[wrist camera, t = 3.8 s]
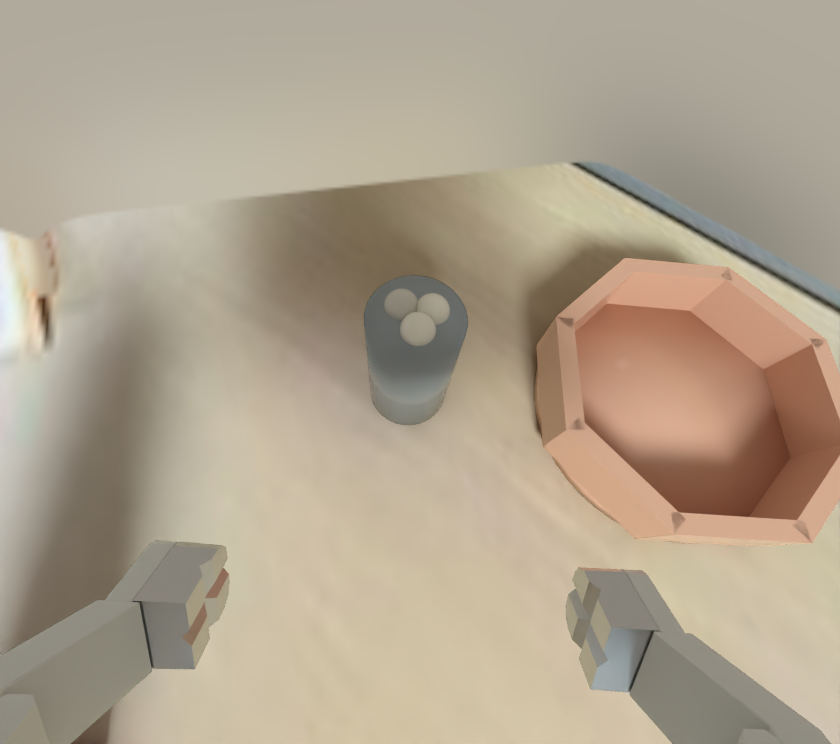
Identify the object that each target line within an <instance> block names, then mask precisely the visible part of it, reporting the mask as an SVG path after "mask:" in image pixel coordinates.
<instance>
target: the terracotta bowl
mask: <svg viewBox="0 0 840 744" xmlns="http://www.w3.org/2000/svg"><path fill="white" fill-rule="evenodd" d="M536 347H537V362H538V367H537V371H536V378H535V388H534V400H535V408H536V415H537V419H538V423H539V427H540V430H541V433H542V438H543V447H544V448H545V449H546V450H547V451H548V452H549V453H550V454H551V455H552V457H553V459H554V461H555V463H556V464H557V466H558V467H559V469H560V470H561V471H562V473H563V474H564V476H565V477H566V479H567V480H568V481H569V482H570V483H571V484H572V485H573V487H574V488H575V489H576V490H577V491H578V492H579V493H580V494H581V495H582V496H583V497H584V498H585V499H586V500H587V501H588V502H590V503H591V504H592V505H593V506H594V507H595V508H597V509H598V510H599V511H601V512H602V513H604V514H605V515H606V516H608V517H609V518H611V519H612V520H614V521H616V522H618V523H619V524H621V525H622V526H623V527H624V528H625V529H626V530H627V531H628V532H629V533H630V534H631V535H632V536H633V537H634V538H635V539H648V540H663V541H669V542H677V543H711V544H726V545H742V546H768V545H788V544H808V543H813V541H814V539H815V538H816V536H817V535H818V533H819V531H820V530H821V528H822V527H823V525H824V523H825V522H826V520H827V519H828V517H829V515H830V514H831V512H832V511H833V509H834V507H835V506H836V504H837V503H838V501H839V500H840V374H839V371H838V369H837V366H836V364H835V361H834V358H833V356H832V353H831V351H830V348H829V345H828V343H827V340H826V339H825V338H824V337H822V336H821V335H820V334H818V333H817V332H815V331H814V330H813V329H811V328H810V327H809V326H807V325H806V324H805V323H803V322H802V321H801V320H799V319H798V318H797V317H795V316H794V315H793V314H791V313H790V312H788V311H787V310H786V309H784V308H783V307H782V306H780V305H779V304H778V303H776V302H775V301H774V300H772V299H771V298H770V297H768V296H767V295H766V294H764V293H763V292H761V291H760V290H759V289H757V288H756V287H755V286H753V285H752V284H751V283H749V282H748V281H747V280H745V279H744V278H743V277H741V276H740V275H739V274H737V273H736V272H734V271H733V270H732V269H730V268H729V267H720V266H709V265H699V264H688V263H677V262H666V261H655V260H644V259H633V258H624V259H623V260H622V261H620V262H619V263H618V264H617V265H616V266H615V267H613V268H612V269H611V270H610V271H609V272H608V273H606V274H605V275H604V276H603V277H602V278H601V279H599V280H598V281H597V282H596V283H595V284H593V285H592V286H591V287H590V288H589V289H588V290H586V291H585V292H584V293H583V294H582V295H581V296H579V297H578V298H577V299H576V300H575V301H574V302H572V303H571V304H570V305H569V306H568V307H567V308H565V309H564V310H563V311H562V312H561V313H559V314H558V315H557V316H556V317H555V319H554V320H553V322H552V323H551V325H550V326H549V328H548V329H547V330H546V332H545V333H544V335H543V336H542V338H541V339H540V341H539V342H538V344H537V345H536Z"/></svg>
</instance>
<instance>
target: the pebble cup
mask: <svg viewBox="0 0 840 744" xmlns="http://www.w3.org/2000/svg"><path fill="white" fill-rule="evenodd" d="M364 325H365V336H366V347H367V357H368V368H369V379H370V390H371V397H372V401H373V403H374V405H375V407H376V409H377V410H378V411H379V413H380V414H381V415H382V416H384V417H385V418H386V419H388V420H390V421H392V422H394V423H397V424H401V425H415V424H419V423H422V422H425V421H426V420H428V419H430V418H431V417H432V416H434V415H435V414H436V412H437V411H438V410H439V408H440V407H441V405H442V402H443V400H444V397H445V394H446V391H447V388H448V385H449V382H450V379H451V376H452V373H453V370H454V367H455V364H456V362H457V359H458V356H459V353H460V350H461V347H462V344H463V341H464V338H465V335H466V332H467V327H468V317H467V312H466V309H465V306H464V304H463V302H462V300H461V299H460V298H459V296H458V295H457V294H456V293H455V292H454V291H453V290H452V289H451V288H450V287H449V286H447V285H445V284H444V283H442V282H440V281H438V280H435V279H433V278H429V277H425V276H415V275H412V276H403V277H399V278H395V279H393V280H390V281H388V282H386V283H385V284H383V285H382V286H380V287H379V288H378V289H377V290H376V291H375V292H374V293H373V294H372V296H371V297H370V299H369V301H368V302H367V305H366V308H365V313H364Z"/></svg>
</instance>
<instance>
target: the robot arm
mask: <svg viewBox="0 0 840 744" xmlns="http://www.w3.org/2000/svg"><path fill="white" fill-rule="evenodd" d="M226 561H227V551H226V547H224V546H223V545H213V544H201V543H190V542H173V541H162V540H156V541H154V542H152V543H151V544H149V545H148V547H147V548H146V549H145V550H144V552H143V553H142V554H141V555H140V557H139V558H138V559H137V560H136V562H135V563H134V564H133V565H132V567H131V568H130V569H129V570H128V572H127V573H126V574H125V575H124V577H123V578H122V579H121V580H120V582H119V583H118V584H117V585H116V587H115V588H114V589H113V590H112V592H111V593H110V594H109V595H108V596H107V598H106V599H105V600H96V601H95V602H93V603H91V604H89V605H88V606H86V607H84V608H82V609H81V610H79V611H77V612H75V613H74V614H72V615H70V616H68V617H67V618H65V619H63V620H62V621H60V622H58V623H56V624H55V625H53V626H51V627H49V628H48V629H46V630H44V631H42V632H41V633H39V634H37V635H35V636H34V637H32V638H30V639H28V640H27V641H25V642H23V643H22V644H20V645H18V646H16V647H15V648H13V649H11V650H9V651H8V652H6V653H4V654H2V655H1V656H0V744H71V743H72V742H73V741H74V740H75V739H76V738H78V737H79V736H80V735H81V734H82V733H83V732H84V731H85V730H87V729H88V728H89V727H90V726H91V725H92V724H93V723H94V722H96V721H97V720H98V719H99V718H100V717H101V716H102V715H103V714H104V713H106V712H107V711H108V710H109V709H110V708H111V707H112V706H113V705H115V704H116V703H117V702H118V701H119V700H120V699H121V698H122V697H124V696H125V695H126V694H127V693H128V692H129V691H130V690H131V689H132V688H134V687H135V686H136V685H137V684H138V683H139V682H140V681H141V680H143V679H144V678H145V677H146V676H147V675H148V674H149V673H150V672H152V668H157V669H195V668H196V666H197V664H198V662H199V660H200V658H201V656H202V654H203V651H204V649H205V647H206V645H207V643H208V641H209V639H210V637H209V627H210V626H211V625H212V624H214V623H215V622H216V621H218V620H219V618H220V616H221V614H222V612H223V610H224V607H225V604H226V600H227V597H228V592H229V574H228V573H227V572H226V570H225V569H224V568H223V566H224V564H225V563H226ZM573 582H574V585H575V587H576V589H574V590H573V591H572V592H571V593H570V594H568V598H567V603H566V620H567V625H568V629H569V632H570V635H571V638H572V640H573V641H574V642H575V643H576V644H577V645H578V646H579V647H581V648H582V650H581V653H580V657H579V660H580V663H581V665H582V668H583V671H584V673H585V676H586V679H587V681H588V684H589V687H590V689H592V690H605V691H617V692H629V693H630V694H629V695H630V696H631V697H632V698H633V699H634V701H635V702H636V703H637V704H638V705H639V706H640V707H641V708H642V710H643V711H644V712H645V713H646V714H647V715H648V716H649V718H650V719H651V720H652V721H653V722H654V723H655V724H656V725H657V727H658V728H659V729H660V730H661V731H662V732H663V733H664V734H665V736H666V737H667V738H668V739H669V740H670V741H671V742H672V744H831V743H830V742H829V740H828V739H827V738H826V737H825V735H824V734H823V733H822V731H821V730H819V729H818V728H817V727H815V726H814V725H813V724H811V723H810V722H809V721H807V720H806V719H805V718H803V717H802V716H801V715H799V714H798V713H797V712H795V711H794V710H793V709H791V708H790V707H789V706H787V705H786V704H785V703H783V702H782V701H781V700H779V699H778V698H777V697H775V696H774V695H773V694H771V693H770V692H769V691H767V690H766V689H765V688H763V687H762V686H761V685H759V684H758V683H757V682H755V681H754V680H753V679H751V678H750V677H749V676H747V675H746V674H745V673H743V672H742V671H741V670H739V669H738V668H737V667H735V666H734V665H733V664H731V663H730V662H729V661H727V660H726V659H725V658H723V657H722V656H721V655H719V654H718V653H717V652H715V651H714V650H713V649H711V648H710V647H709V646H707V645H706V644H705V643H703V642H702V641H701V640H699V639H698V638H697V637H695V636H694V635H693V634H688V633H685V632H684V631H683V629H682V628H681V626H680V625H679V623H678V621H677V620H676V618H675V617H674V615H673V614H672V612H671V611H670V609H669V608H668V606H667V604H666V603H665V601H664V600H663V598H662V597H661V595H660V594H659V592H658V591H657V589H656V587H655V586H654V584H653V583H652V581H651V580H650V578H649V577H648V575H647V574H646V573H645V572H643V571H642V570H618V569H600V568H581V567H578V569H577V570H576V571H575V573H574V577H573Z"/></svg>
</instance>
